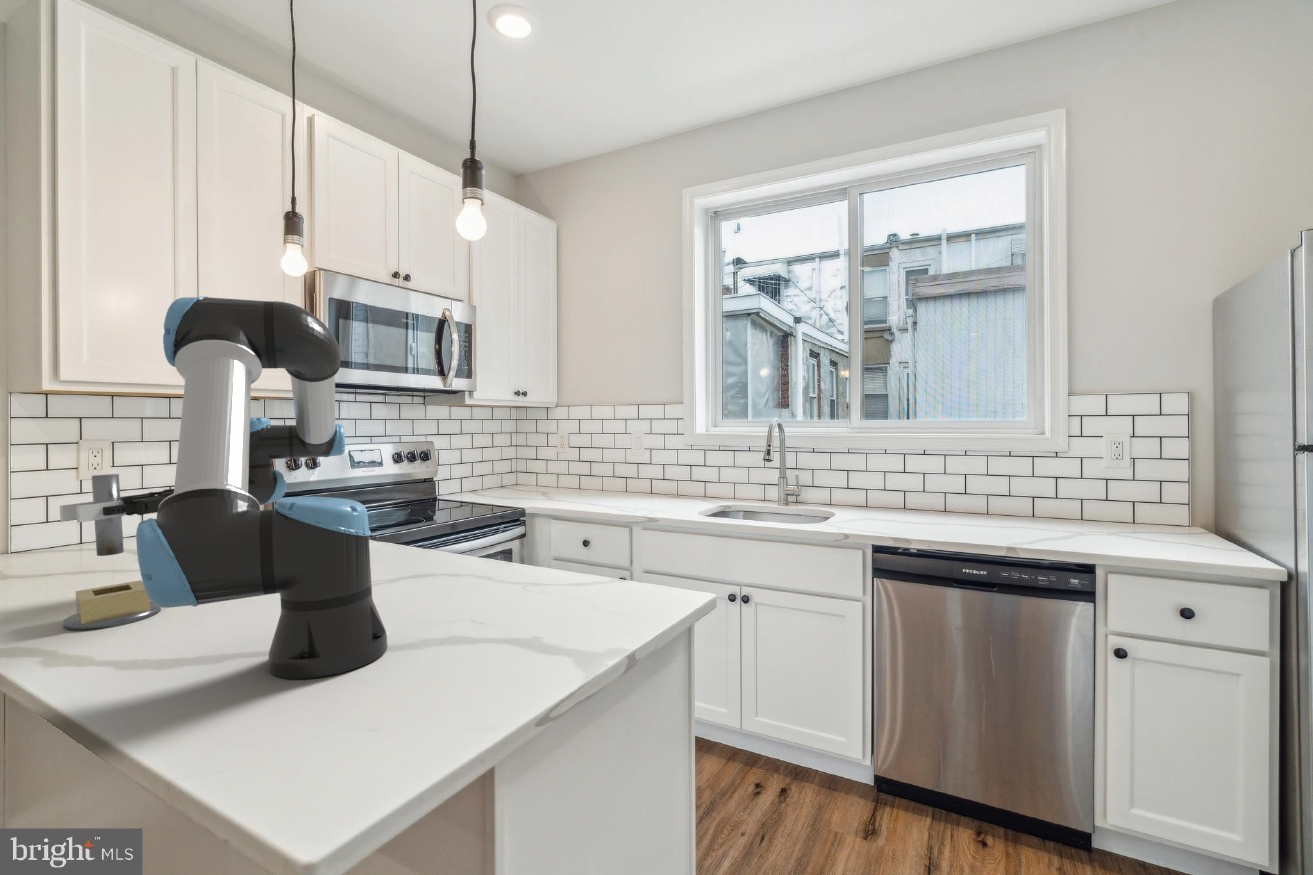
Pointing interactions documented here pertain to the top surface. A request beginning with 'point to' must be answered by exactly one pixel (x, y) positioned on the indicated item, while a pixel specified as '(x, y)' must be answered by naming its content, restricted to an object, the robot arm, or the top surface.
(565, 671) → the top surface
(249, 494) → the robot arm
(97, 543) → the pin
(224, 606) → the top surface
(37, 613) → the top surface
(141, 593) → the socket
